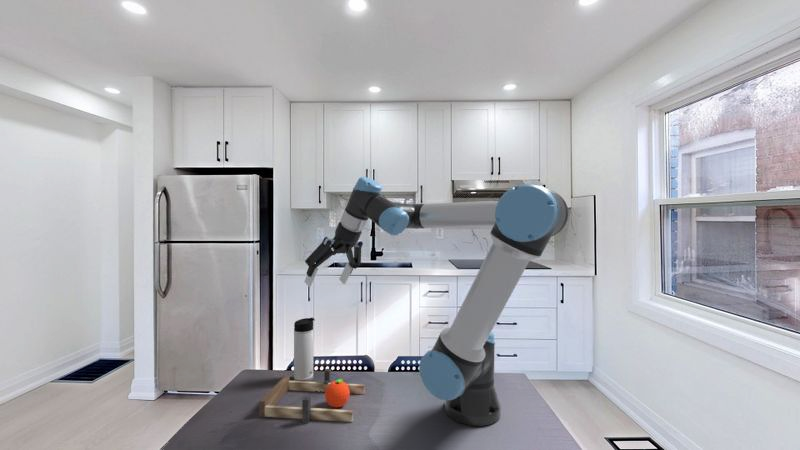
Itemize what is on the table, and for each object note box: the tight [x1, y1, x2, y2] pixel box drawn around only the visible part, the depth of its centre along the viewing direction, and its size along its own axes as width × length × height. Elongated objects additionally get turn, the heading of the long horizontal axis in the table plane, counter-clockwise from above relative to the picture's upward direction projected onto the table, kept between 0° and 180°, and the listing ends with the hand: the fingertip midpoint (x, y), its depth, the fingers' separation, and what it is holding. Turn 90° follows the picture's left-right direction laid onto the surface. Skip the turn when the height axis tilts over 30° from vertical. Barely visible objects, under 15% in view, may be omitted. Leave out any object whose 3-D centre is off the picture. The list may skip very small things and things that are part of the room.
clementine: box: [324, 378, 351, 408], centre depth 99 cm, size 8×7×7 cm
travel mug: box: [293, 317, 315, 382], centre depth 116 cm, size 6×7×20 cm
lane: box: [258, 368, 366, 424], centre depth 100 cm, size 26×20×6 cm
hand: (325, 282), depth 111 cm, fingers open, 13 cm apart
